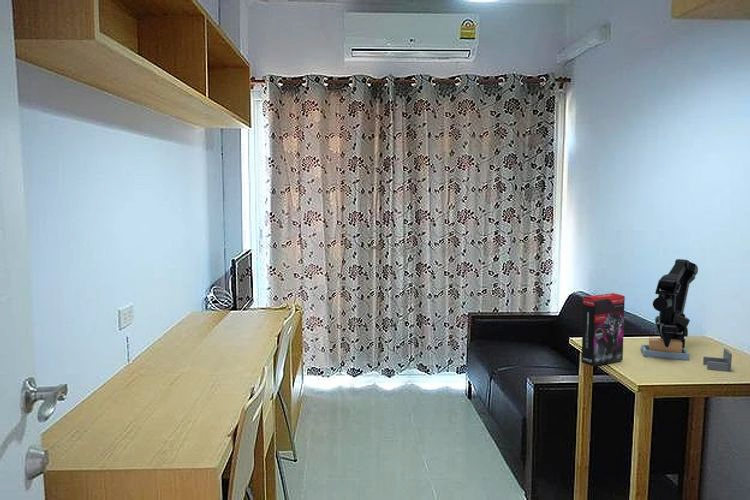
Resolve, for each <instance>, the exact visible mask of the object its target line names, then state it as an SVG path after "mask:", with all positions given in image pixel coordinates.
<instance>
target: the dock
mask: <svg viewBox="0 0 750 500" xmlns="http://www.w3.org/2000/svg"><path fill="white" fill-rule="evenodd" d="M722 354H723V356H722V357H716V356H715V357H714V356H703V358H702V359H703V360H702V364H703V365H706V369H707V370H708V371H721V372H729V373H730V372H732V371H731V369H732V357H733V354H732V352H731V351H730V350H729V349H728V348H727V347H726V348H723V353H722Z"/></svg>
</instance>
